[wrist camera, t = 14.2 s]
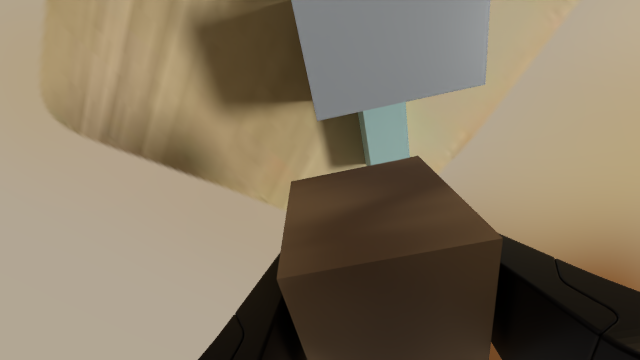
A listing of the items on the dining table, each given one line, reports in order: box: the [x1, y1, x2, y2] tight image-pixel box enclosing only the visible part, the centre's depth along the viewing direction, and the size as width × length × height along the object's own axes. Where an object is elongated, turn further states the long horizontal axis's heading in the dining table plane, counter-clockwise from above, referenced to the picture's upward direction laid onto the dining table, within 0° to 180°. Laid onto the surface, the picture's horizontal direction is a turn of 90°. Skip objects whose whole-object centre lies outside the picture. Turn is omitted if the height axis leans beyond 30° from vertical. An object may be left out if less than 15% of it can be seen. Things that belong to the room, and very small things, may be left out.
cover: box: [291, 0, 490, 121], centre depth 14 cm, size 8×6×6 cm
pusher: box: [358, 102, 410, 166], centre depth 15 cm, size 4×16×5 cm, turn 12°
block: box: [277, 156, 503, 360], centre depth 8 cm, size 4×4×4 cm
